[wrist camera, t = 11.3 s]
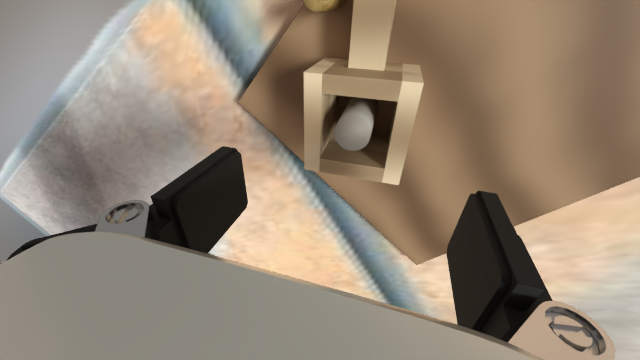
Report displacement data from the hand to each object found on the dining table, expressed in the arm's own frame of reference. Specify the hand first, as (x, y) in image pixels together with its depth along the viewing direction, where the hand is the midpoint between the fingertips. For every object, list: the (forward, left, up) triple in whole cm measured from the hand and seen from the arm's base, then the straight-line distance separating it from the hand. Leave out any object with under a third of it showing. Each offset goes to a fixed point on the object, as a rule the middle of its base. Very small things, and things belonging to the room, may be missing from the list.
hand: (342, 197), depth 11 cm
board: (+4, -3, -11) cm, 12 cm away
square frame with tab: (+2, +2, -10) cm, 10 cm away
